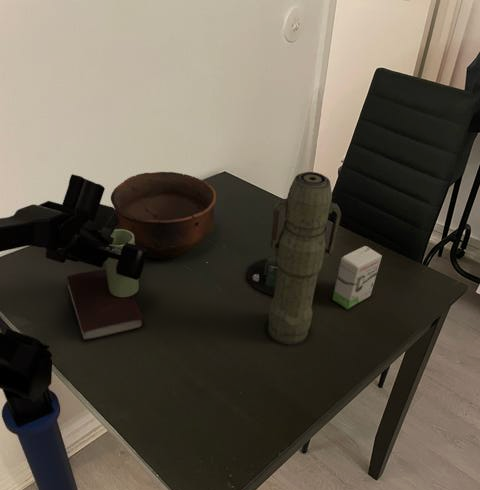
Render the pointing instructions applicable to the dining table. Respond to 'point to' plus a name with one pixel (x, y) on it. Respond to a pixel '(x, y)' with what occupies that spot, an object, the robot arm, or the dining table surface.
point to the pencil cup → (116, 282)
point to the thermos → (300, 254)
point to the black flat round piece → (264, 275)
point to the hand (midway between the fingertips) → (118, 261)
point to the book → (101, 306)
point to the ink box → (356, 276)
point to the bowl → (165, 211)
